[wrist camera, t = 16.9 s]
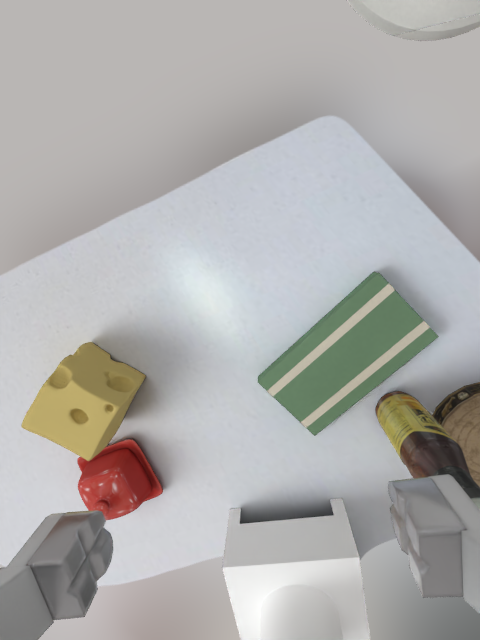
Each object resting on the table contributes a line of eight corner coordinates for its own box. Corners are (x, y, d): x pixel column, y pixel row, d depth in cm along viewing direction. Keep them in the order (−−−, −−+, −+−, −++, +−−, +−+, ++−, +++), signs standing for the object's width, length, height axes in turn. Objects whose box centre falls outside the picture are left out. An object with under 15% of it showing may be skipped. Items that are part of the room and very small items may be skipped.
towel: (373, 271, 43) (379, 273, 41) (431, 332, 44) (439, 337, 42) (257, 376, 48) (257, 382, 46) (312, 428, 49) (314, 436, 47)
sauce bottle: (425, 410, 47) (535, 527, 28) (389, 433, 49) (471, 561, 29) (398, 378, 46) (492, 478, 27) (363, 403, 48) (429, 515, 29)
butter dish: (136, 432, 52) (113, 468, 44) (168, 488, 54) (151, 533, 46) (78, 453, 54) (44, 492, 46) (110, 506, 56) (84, 553, 48)
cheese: (90, 339, 48) (46, 364, 39) (151, 375, 49) (124, 409, 40) (63, 391, 51) (16, 427, 41) (122, 425, 52) (90, 468, 42)
